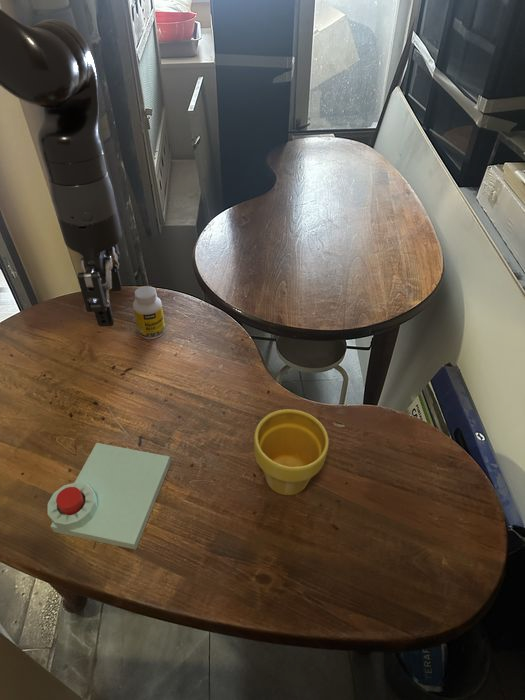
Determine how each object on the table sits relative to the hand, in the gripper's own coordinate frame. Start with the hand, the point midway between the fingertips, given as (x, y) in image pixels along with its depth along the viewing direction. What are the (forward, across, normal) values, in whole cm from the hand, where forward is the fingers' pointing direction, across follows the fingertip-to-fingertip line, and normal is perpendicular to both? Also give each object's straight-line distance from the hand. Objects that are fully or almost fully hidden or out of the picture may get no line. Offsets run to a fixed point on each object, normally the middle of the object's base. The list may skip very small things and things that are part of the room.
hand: (110, 306), depth 73 cm
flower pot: (+18, +20, +26) cm, 37 cm away
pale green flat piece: (+18, +22, 0) cm, 28 cm away
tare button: (+15, +24, -5) cm, 29 cm away
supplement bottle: (+18, -15, +2) cm, 24 cm away
